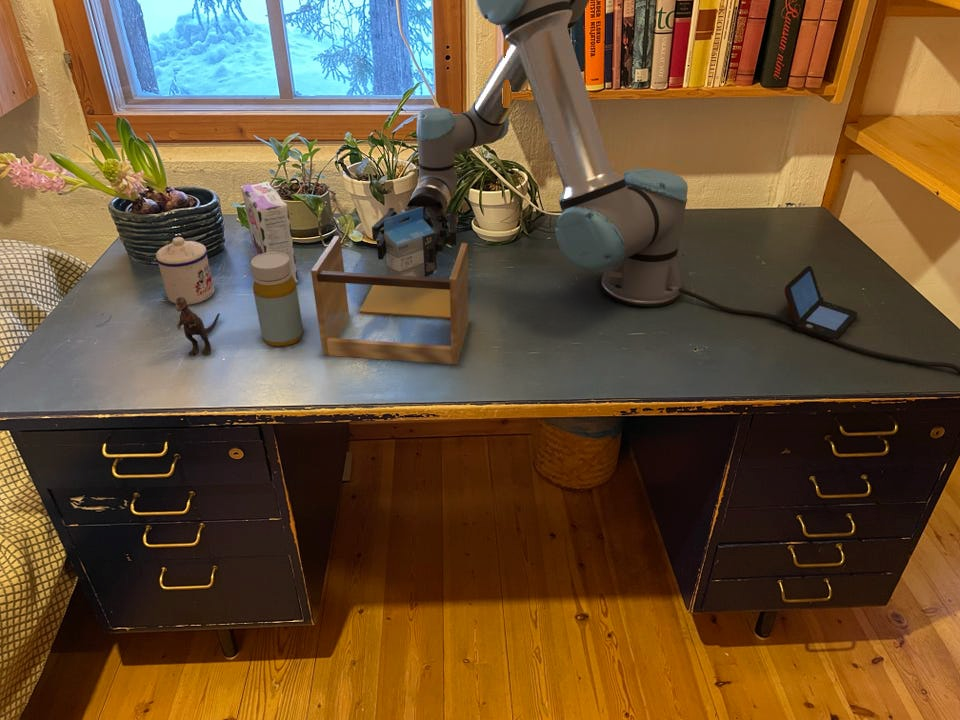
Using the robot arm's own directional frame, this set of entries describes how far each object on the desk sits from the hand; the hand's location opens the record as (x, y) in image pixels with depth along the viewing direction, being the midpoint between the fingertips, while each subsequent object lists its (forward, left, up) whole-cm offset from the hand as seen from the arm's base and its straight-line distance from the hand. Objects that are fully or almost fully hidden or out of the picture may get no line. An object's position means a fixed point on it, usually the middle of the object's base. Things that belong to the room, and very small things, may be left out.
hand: (405, 254), depth 130 cm
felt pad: (0, -5, -12) cm, 13 cm away
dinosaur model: (+33, +14, -12) cm, 38 cm away
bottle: (+20, +11, -12) cm, 26 cm away
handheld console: (-74, -7, -12) cm, 75 cm away
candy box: (+30, -13, -12) cm, 35 cm away
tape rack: (0, +9, -12) cm, 15 cm away
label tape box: (0, -5, -7) cm, 9 cm away
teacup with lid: (+43, -3, -12) cm, 45 cm away
